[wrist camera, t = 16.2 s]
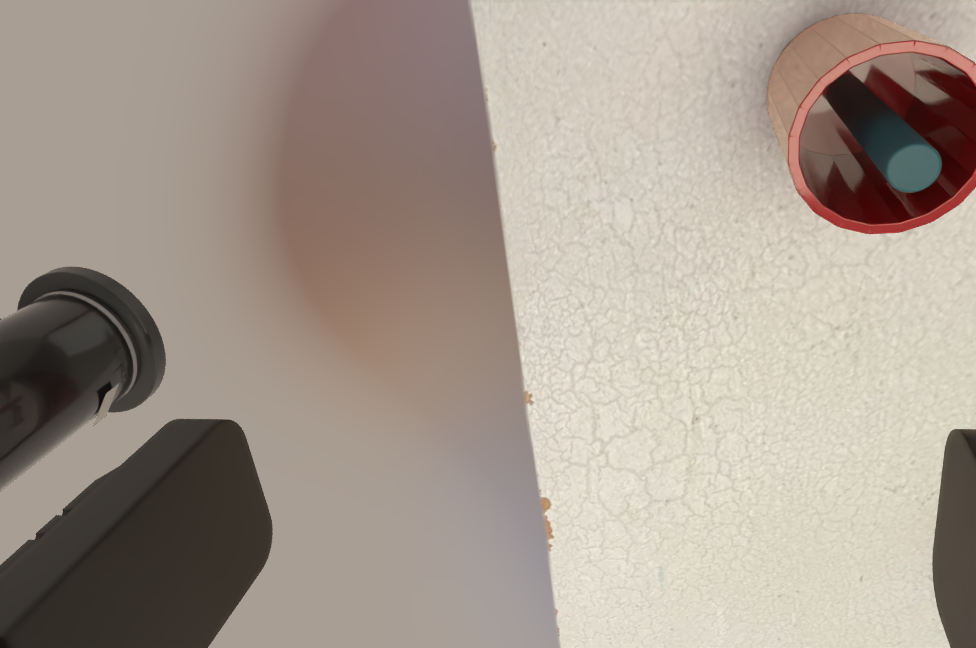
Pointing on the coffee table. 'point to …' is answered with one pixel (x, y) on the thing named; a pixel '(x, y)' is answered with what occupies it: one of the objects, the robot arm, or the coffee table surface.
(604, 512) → the coffee table surface
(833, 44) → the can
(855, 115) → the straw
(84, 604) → the robot arm
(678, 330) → the coffee table surface
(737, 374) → the coffee table surface
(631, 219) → the coffee table surface
